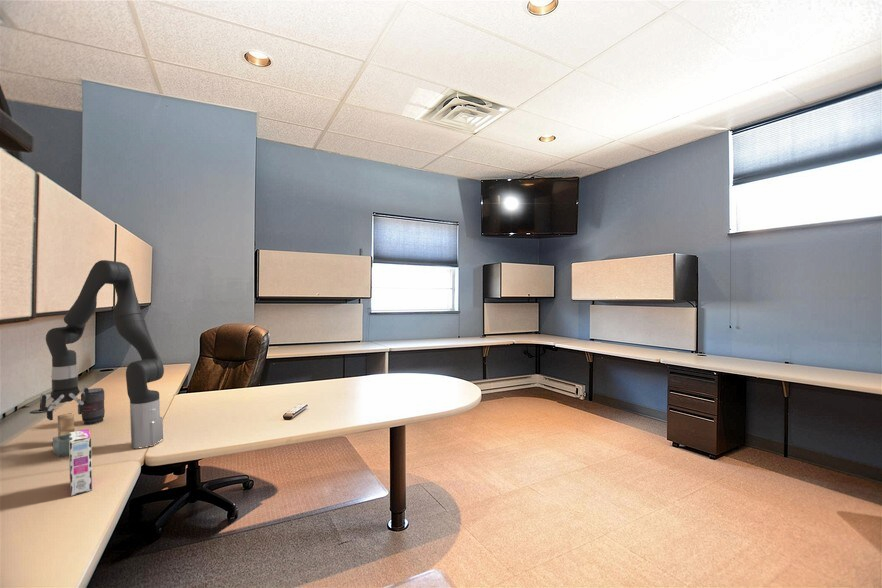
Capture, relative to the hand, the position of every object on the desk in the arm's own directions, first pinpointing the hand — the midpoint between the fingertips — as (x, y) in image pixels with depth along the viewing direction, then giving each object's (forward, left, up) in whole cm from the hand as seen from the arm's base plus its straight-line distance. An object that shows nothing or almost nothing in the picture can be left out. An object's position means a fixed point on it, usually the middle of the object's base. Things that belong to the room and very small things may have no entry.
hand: (65, 416), depth 156 cm
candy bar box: (-36, +39, -10) cm, 54 cm away
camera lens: (+8, -24, -10) cm, 27 cm away
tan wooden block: (0, 0, -10) cm, 10 cm away
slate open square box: (-9, +9, -10) cm, 17 cm away
